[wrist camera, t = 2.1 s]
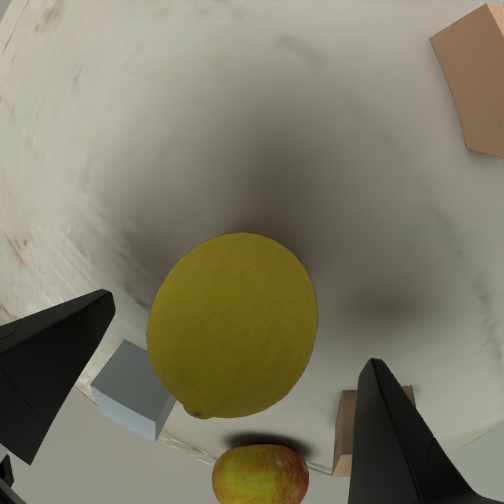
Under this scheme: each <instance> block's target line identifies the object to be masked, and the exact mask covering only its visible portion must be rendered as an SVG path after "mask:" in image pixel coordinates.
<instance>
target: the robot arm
mask: <svg viewBox="0 0 504 504" xmlns="http://www.w3.org/2000/svg"><path fill="white" fill-rule="evenodd" d="M115 311H116V309H115V304H114V299H113V295H112V293H111V292H110V291H107V290H105V289H100V290H97V291H94V292H91V293H88V294H86V295H83V296H80V297H78V298H75V299H72V300H69V301H67V302H64V303H61V304H58V305H56V306H53V307H50V308H48V309H45V310H42V311H40V312H37V313H34V314H32V315H29V316H26V317H24V318H23V319H22V318H21V319H18V320H16V321H13V322H10V323H8V324H5V325H2V326H0V504H26V503H25V502H24V501H23V500H22V499H21V498H20V497H19V496H18V495H17V494H16V493H15V492H14V491H13V490H12V489H11V486H12V484H13V482H14V478H13V473H12V468H11V463H10V457H9V455H8V454H7V452H8V451H10V452H12V453H13V454H14V455H16V456H17V457H19V458H20V459H21V460H23V461H24V462H26V463H27V464H29V465H31V463H32V462H33V459H34V457H35V455H36V453H37V451H38V449H39V447H40V445H41V443H42V441H43V439H44V437H45V436H46V434H47V432H48V430H49V427H50V426H51V424H52V422H53V420H54V418H55V417H56V415H57V413H58V411H59V409H60V408H61V406H62V404H63V402H64V401H65V399H66V397H67V396H68V394H69V392H70V391H71V389H72V387H73V386H74V384H75V382H76V381H77V379H78V377H79V376H80V374H81V372H82V371H83V369H84V368H85V366H86V364H87V363H88V361H89V360H90V358H91V357H92V355H93V354H94V352H95V350H96V349H97V347H98V345H99V344H100V342H101V340H102V338H103V336H104V334H105V332H106V330H107V328H108V327H109V325H110V323H111V321H112V319H113V317H114V315H115ZM348 504H504V502H500V501H496V500H492V499H489V498H486V497H482V496H481V495H479V494H477V493H476V492H475V491H473V489H472V488H471V487H470V486H469V485H468V483H467V482H466V481H465V479H464V478H463V477H462V475H461V474H460V473H459V471H458V470H457V469H456V468H455V466H454V465H453V463H452V462H451V461H450V459H449V458H448V457H447V456H446V454H445V452H444V451H443V449H442V448H441V446H440V445H439V443H438V441H437V440H436V438H435V437H434V435H433V434H432V432H431V430H430V429H429V427H428V426H427V424H426V423H425V421H424V420H423V418H422V417H421V415H420V414H419V412H418V411H417V409H416V408H415V406H414V405H413V403H412V402H411V400H410V399H409V397H408V396H407V394H406V393H405V391H404V390H403V388H402V387H401V385H400V384H399V383H398V381H397V380H396V378H395V377H394V375H393V374H392V372H391V371H390V370H389V368H388V367H387V365H386V364H385V363H384V361H383V360H382V359H376V358H371V359H369V360H368V362H367V364H366V365H365V367H364V368H363V370H362V372H361V373H360V376H359V380H358V389H357V398H356V406H355V414H354V429H353V452H352V467H351V479H350V489H349V498H348Z"/></svg>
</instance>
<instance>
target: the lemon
mask: <svg viewBox="0 0 504 504" xmlns="http://www.w3.org/2000/svg"><path fill="white" fill-rule="evenodd" d="M317 328H318V309H317V302H316V294H315V290H314V286H313V284H312V282H311V280H310V278H309V275H308V273H307V271H306V269H305V267H304V266H303V265H302V263H301V262H300V261H299V260H298V259H297V257H296V256H295V255H294V254H293V253H292V252H291V251H290V250H288V249H287V248H286V247H284V246H283V245H281V244H280V243H279V242H277V241H274V240H272V239H270V238H267V237H265V236H262V235H257V234H251V233H232V234H224V235H221V236H218V237H216V238H213V239H210V240H207V241H205V242H203V243H201V244H199V245H198V246H197V247H195V248H194V249H193V250H191V251H190V252H189V253H187V254H186V255H185V256H183V257H182V258H181V259H180V260H179V261H178V262H177V263H176V264H175V266H174V267H173V268H172V269H171V271H170V272H169V274H168V276H167V277H166V279H165V280H164V282H163V283H162V285H161V287H160V288H159V290H158V292H157V294H156V296H155V299H154V302H153V304H152V308H151V311H150V315H149V321H148V326H147V334H146V338H147V348H148V353H149V358H150V361H151V364H152V367H153V369H154V371H155V373H156V374H157V376H158V378H159V380H160V382H161V383H162V384H163V386H164V387H165V388H166V390H167V391H168V392H169V393H170V394H171V395H172V396H173V397H174V398H175V399H176V400H178V401H179V402H180V403H182V404H183V407H184V409H185V411H186V412H187V413H188V414H190V415H191V416H193V417H196V418H199V419H209V418H212V417H218V418H237V417H245V416H248V415H252V414H255V413H258V412H261V411H264V410H265V409H267V408H269V407H271V406H272V405H274V404H276V403H277V402H279V401H280V400H281V399H282V398H284V397H285V396H286V395H287V394H288V393H289V392H290V390H291V389H292V388H293V386H294V385H295V384H296V382H297V381H298V380H299V378H300V377H301V375H302V374H303V372H304V370H305V368H306V366H307V364H308V361H309V359H310V356H311V353H312V350H313V346H314V341H315V337H316V333H317Z"/></svg>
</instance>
